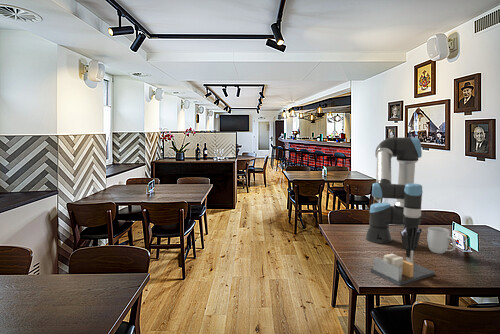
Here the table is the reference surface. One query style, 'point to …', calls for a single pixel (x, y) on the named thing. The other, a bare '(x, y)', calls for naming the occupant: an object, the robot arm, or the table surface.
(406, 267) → the bar
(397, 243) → the table surface
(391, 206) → the robot arm
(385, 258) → the block
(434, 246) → the mug
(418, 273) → the base
